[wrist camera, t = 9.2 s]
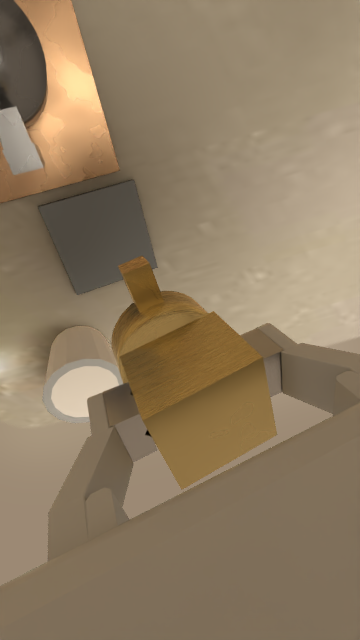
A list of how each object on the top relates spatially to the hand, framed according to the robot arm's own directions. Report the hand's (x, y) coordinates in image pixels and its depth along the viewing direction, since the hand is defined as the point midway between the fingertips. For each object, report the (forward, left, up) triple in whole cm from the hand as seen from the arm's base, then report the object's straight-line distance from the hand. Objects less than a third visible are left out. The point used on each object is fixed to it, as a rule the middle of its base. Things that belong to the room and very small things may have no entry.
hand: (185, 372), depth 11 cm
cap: (0, 0, -3) cm, 3 cm away
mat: (0, 0, -20) cm, 20 cm away
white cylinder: (+10, -6, -20) cm, 23 cm away
